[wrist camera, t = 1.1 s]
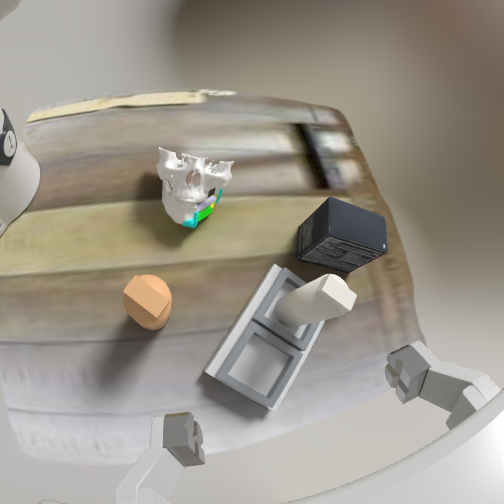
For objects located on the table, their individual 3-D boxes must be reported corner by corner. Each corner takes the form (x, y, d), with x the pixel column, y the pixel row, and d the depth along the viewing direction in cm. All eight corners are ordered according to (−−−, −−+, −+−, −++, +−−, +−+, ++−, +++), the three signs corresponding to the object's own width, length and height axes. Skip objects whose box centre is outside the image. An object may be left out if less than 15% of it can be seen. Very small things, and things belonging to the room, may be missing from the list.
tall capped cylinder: (156, 337, 35) (152, 332, 24) (128, 315, 35) (111, 300, 23) (176, 309, 37) (181, 291, 26) (148, 288, 37) (141, 260, 25)
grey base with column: (269, 409, 36) (321, 433, 23) (203, 370, 35) (225, 383, 22) (325, 307, 44) (387, 286, 30) (270, 267, 43) (316, 229, 30)
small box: (350, 239, 50) (387, 215, 40) (349, 274, 47) (389, 254, 38) (298, 223, 47) (330, 193, 38) (294, 260, 45) (329, 235, 35)
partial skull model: (139, 222, 36) (150, 151, 33) (149, 205, 44) (159, 147, 41) (225, 236, 39) (241, 168, 36) (220, 217, 47) (233, 161, 44)
